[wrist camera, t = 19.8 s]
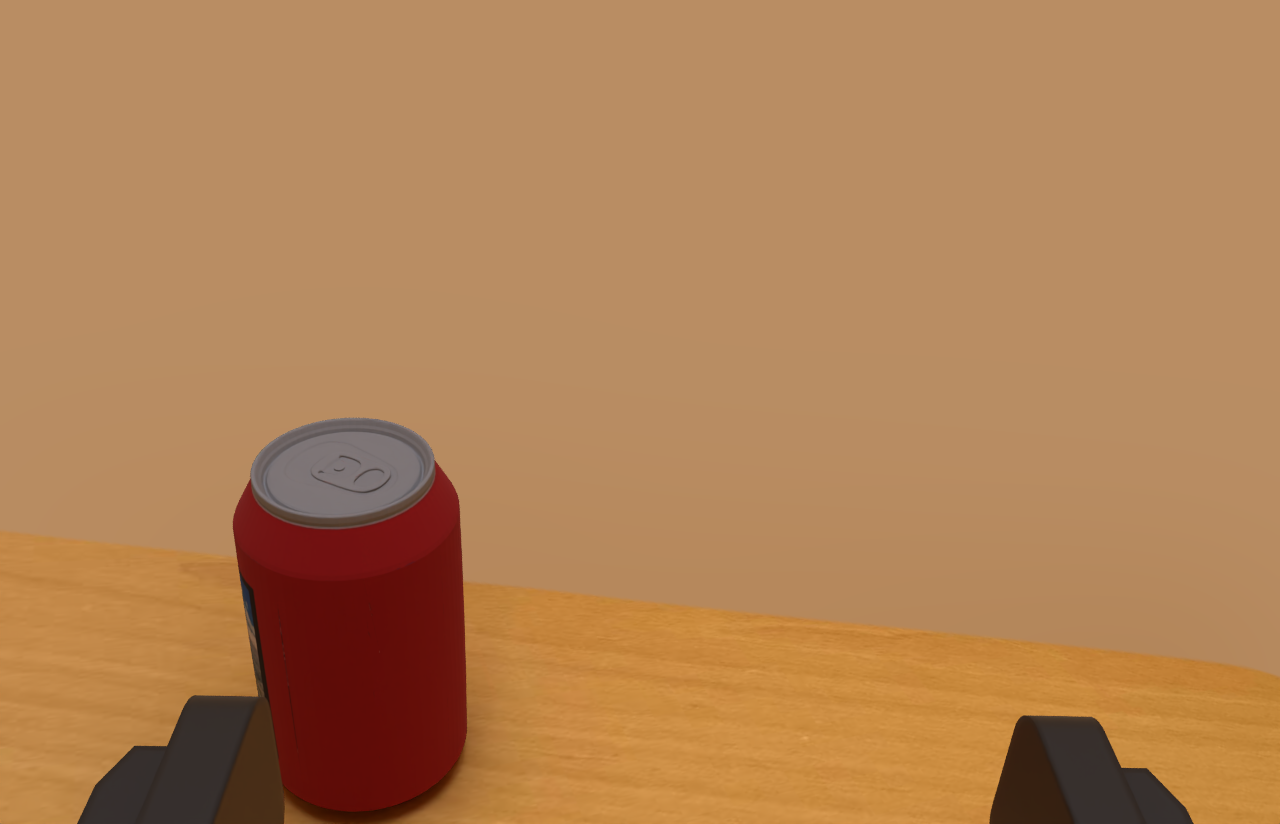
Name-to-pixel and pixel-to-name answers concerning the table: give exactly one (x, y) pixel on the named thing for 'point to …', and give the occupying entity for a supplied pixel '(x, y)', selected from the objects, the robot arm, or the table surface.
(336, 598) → the beverage can
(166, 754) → the robot arm
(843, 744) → the table surface
